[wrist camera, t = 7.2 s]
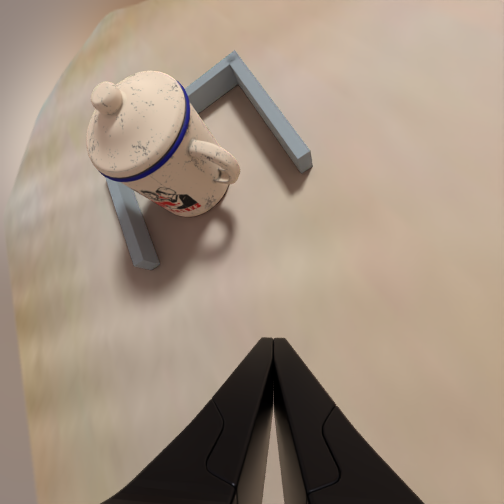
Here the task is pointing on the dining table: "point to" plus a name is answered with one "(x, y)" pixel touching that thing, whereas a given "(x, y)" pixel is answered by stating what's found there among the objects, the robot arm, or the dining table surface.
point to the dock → (200, 98)
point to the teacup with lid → (158, 144)
